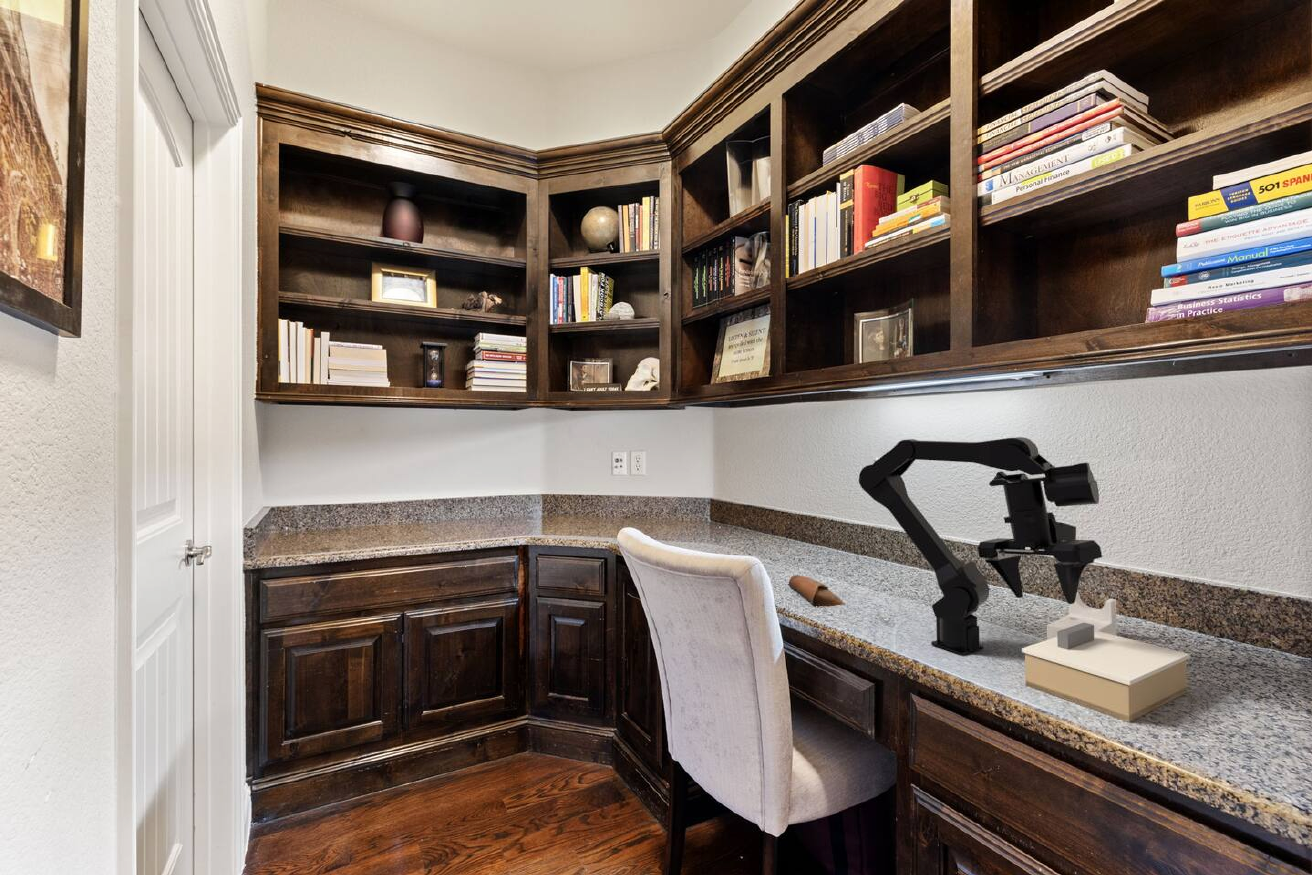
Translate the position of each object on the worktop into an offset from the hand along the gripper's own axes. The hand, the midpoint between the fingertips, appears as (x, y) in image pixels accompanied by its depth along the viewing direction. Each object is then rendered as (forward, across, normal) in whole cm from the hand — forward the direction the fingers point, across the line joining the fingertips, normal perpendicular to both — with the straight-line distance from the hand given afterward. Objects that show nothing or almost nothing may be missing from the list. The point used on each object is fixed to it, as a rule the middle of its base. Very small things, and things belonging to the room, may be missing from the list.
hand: (1044, 600), depth 102 cm
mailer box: (+13, -8, +1) cm, 15 cm away
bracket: (+12, +8, -18) cm, 23 cm away
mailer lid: (+7, -8, 0) cm, 11 cm away
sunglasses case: (+4, +54, +9) cm, 55 cm away
